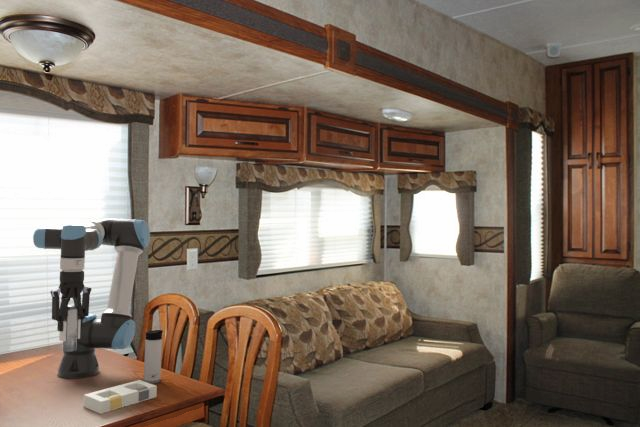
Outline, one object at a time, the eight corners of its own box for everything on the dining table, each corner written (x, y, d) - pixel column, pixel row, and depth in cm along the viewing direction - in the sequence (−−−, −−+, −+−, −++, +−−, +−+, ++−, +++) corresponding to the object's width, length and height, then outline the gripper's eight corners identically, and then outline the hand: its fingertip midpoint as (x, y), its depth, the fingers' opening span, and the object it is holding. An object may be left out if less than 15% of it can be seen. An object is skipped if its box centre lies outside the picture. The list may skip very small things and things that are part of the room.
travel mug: (156, 384, 211) (158, 332, 210) (140, 382, 212) (142, 331, 212) (164, 379, 217) (166, 329, 217) (148, 378, 218) (150, 327, 218)
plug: (59, 350, 185) (61, 306, 185) (71, 347, 188) (73, 304, 188) (66, 352, 182) (68, 307, 182) (79, 350, 186) (80, 306, 186)
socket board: (83, 406, 185) (84, 394, 185) (139, 390, 203) (139, 379, 203) (101, 414, 179) (101, 401, 179) (156, 397, 197) (157, 385, 197)
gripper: (53, 273, 176) (50, 345, 176) (102, 269, 190) (99, 336, 190) (40, 270, 180) (38, 341, 180) (89, 267, 194) (87, 333, 195)
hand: (69, 339), depth 185 cm, fingers closed on plug, 4 cm apart
